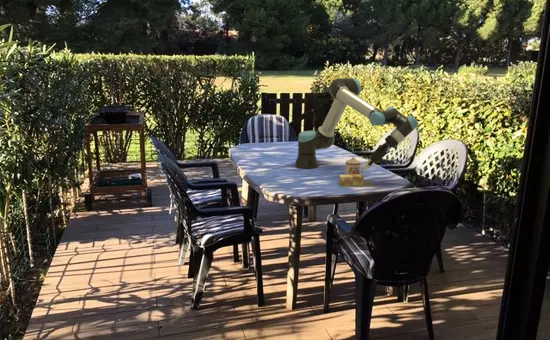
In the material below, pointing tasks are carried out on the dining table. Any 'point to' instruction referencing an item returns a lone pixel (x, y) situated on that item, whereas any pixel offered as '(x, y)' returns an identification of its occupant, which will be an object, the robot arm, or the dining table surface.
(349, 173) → the teacup with lid
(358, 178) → the birch block
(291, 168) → the dining table surface
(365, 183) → the mat
